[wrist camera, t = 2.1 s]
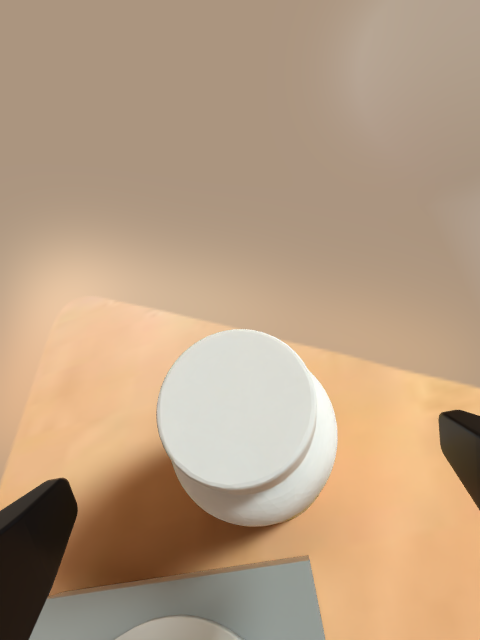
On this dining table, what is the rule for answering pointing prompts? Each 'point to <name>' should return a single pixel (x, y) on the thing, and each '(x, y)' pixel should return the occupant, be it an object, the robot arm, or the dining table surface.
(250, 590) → the scale
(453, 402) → the dining table surface
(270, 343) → the supplement bottle
